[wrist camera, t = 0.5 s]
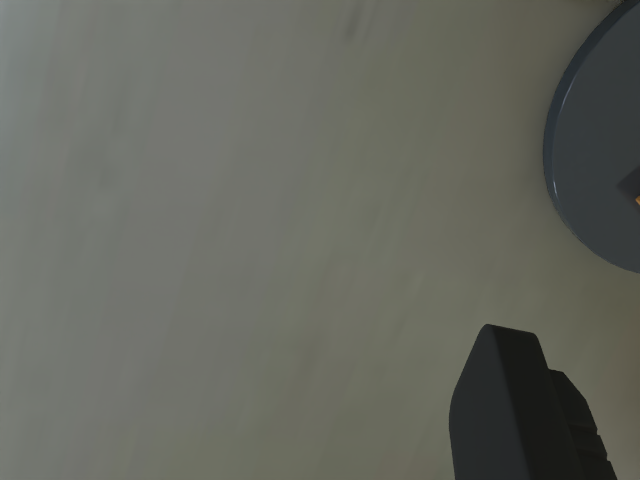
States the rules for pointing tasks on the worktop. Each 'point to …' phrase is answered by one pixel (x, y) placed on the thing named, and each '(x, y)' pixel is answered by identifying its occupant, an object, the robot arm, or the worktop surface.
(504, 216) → the worktop surface
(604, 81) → the turntable plate
